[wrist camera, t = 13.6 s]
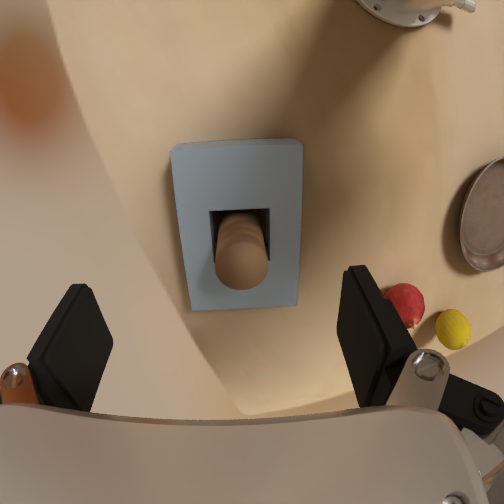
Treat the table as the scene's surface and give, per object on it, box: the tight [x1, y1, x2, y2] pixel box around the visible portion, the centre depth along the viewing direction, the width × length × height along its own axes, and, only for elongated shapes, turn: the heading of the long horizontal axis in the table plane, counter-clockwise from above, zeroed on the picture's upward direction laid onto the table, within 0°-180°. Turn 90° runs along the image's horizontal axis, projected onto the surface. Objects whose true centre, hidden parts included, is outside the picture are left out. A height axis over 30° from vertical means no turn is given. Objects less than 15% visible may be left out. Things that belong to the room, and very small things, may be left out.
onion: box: [384, 283, 425, 329], centre depth 37 cm, size 6×6×8 cm
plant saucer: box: [459, 156, 504, 272], centre depth 35 cm, size 18×18×3 cm
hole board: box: [170, 138, 303, 311], centre depth 33 cm, size 12×18×4 cm, turn 2°
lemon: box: [435, 309, 471, 350], centre depth 41 cm, size 6×6×8 cm
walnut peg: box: [215, 209, 268, 290], centre depth 31 cm, size 4×4×10 cm
